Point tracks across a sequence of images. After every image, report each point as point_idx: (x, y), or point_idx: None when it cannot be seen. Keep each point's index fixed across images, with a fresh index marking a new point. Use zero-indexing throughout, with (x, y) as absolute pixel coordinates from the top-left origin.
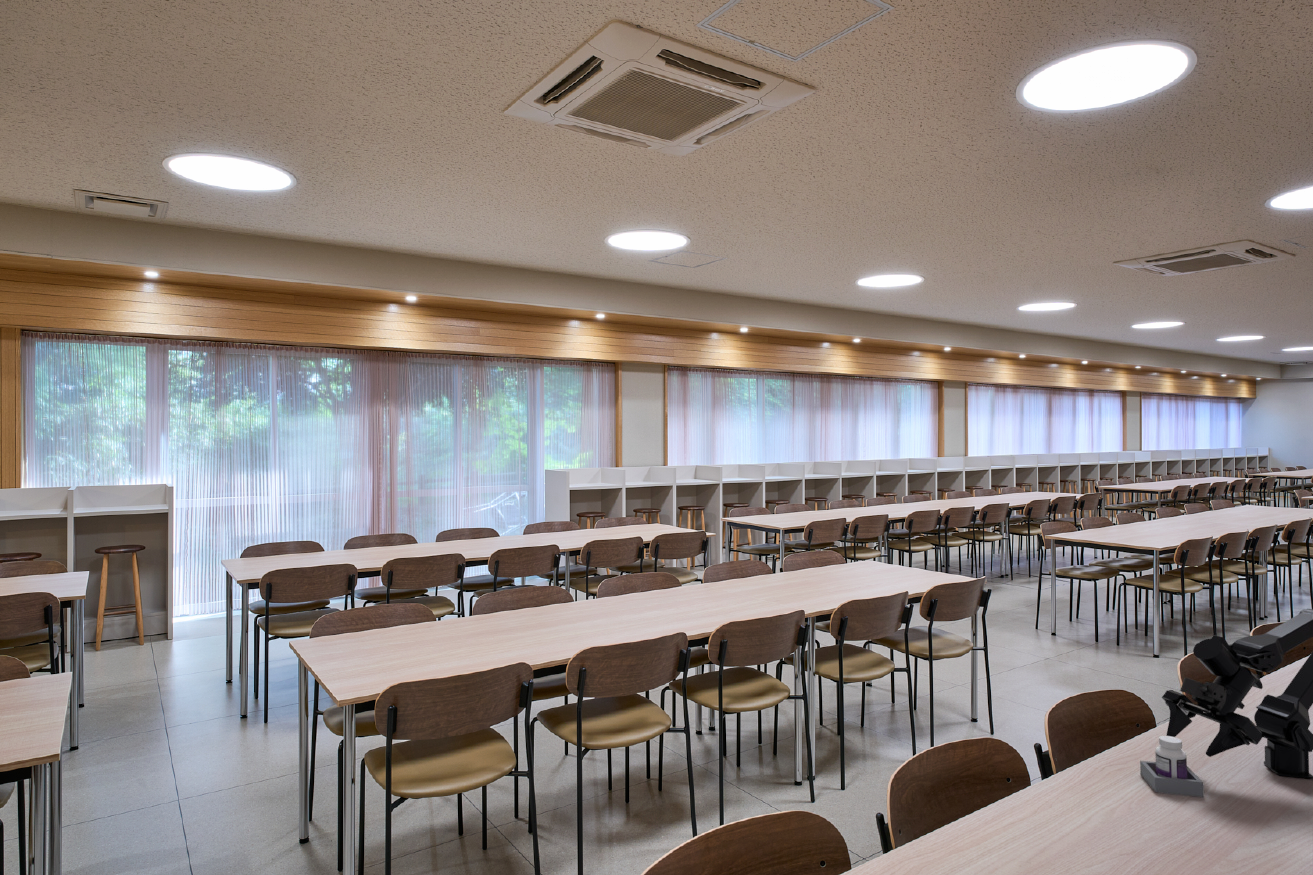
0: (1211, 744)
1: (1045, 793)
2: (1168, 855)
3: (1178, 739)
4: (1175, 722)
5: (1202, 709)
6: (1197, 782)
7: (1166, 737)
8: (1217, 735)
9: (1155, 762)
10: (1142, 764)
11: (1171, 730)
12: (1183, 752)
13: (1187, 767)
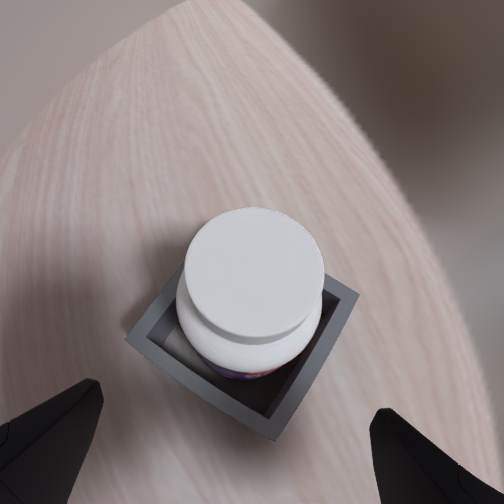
0: (55, 410)
1: (293, 71)
2: (77, 90)
3: (229, 314)
4: (427, 493)
5: None
6: (137, 324)
7: (289, 270)
8: (4, 452)
9: (331, 337)
10: (335, 283)
11: (396, 441)
12: (192, 322)
13: (251, 424)
